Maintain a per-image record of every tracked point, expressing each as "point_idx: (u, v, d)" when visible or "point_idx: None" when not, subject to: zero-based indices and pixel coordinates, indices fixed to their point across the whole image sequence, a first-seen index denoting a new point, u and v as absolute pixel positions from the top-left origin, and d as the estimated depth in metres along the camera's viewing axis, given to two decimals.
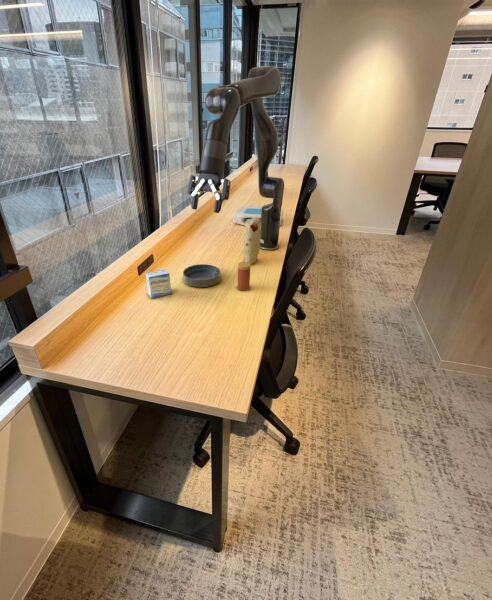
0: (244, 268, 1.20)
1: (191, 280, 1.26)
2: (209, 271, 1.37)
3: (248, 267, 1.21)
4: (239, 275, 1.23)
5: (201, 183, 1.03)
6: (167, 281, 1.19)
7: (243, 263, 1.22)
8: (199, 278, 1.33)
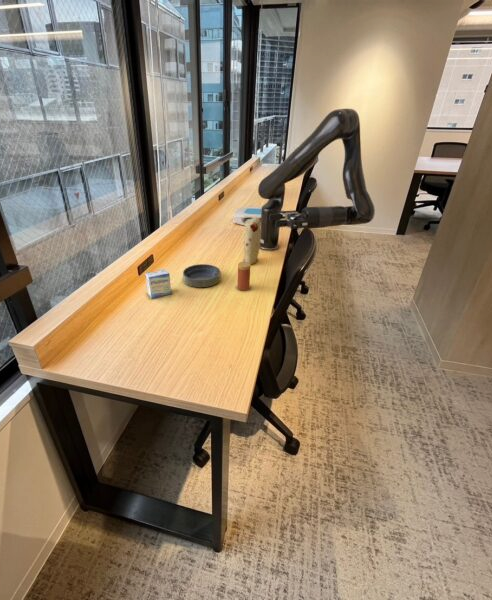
0: (244, 268, 1.20)
1: (191, 280, 1.26)
2: (209, 271, 1.37)
3: (248, 267, 1.21)
4: (239, 275, 1.23)
5: None
6: (167, 281, 1.19)
7: (243, 263, 1.22)
8: (199, 278, 1.33)
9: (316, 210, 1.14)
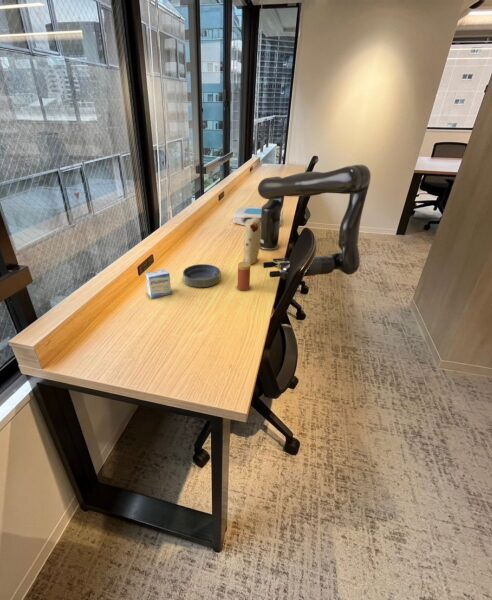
0: (244, 268, 1.20)
1: (191, 280, 1.26)
2: (209, 271, 1.37)
3: (248, 267, 1.21)
4: (239, 275, 1.23)
5: None
6: (167, 281, 1.19)
7: (243, 263, 1.22)
8: (199, 278, 1.33)
9: None
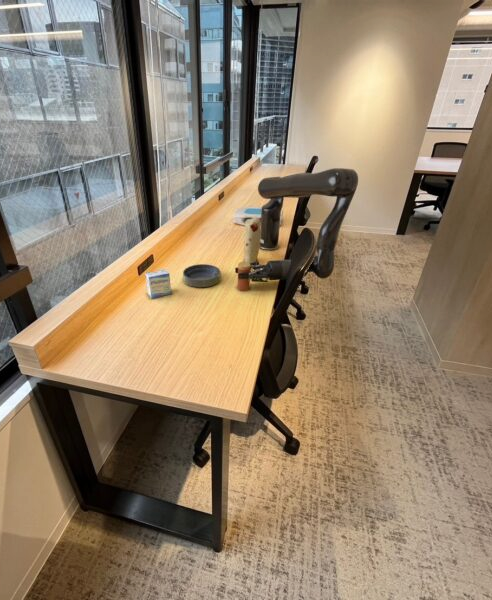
0: (244, 268, 1.20)
1: (191, 280, 1.26)
2: (209, 271, 1.37)
3: (248, 267, 1.21)
4: None
5: None
6: (167, 281, 1.19)
7: (243, 263, 1.22)
8: (199, 278, 1.33)
9: (279, 265, 1.22)
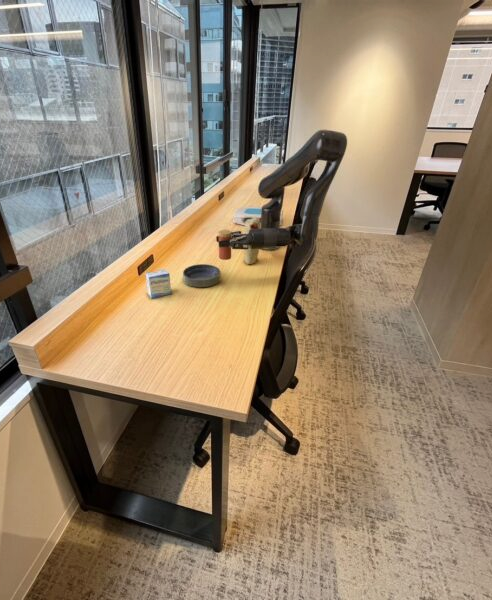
0: (224, 235, 1.17)
1: (191, 280, 1.26)
2: (209, 271, 1.37)
3: (229, 234, 1.18)
4: None
5: None
6: (167, 281, 1.19)
7: (224, 231, 1.19)
8: (199, 278, 1.33)
9: (261, 232, 1.19)
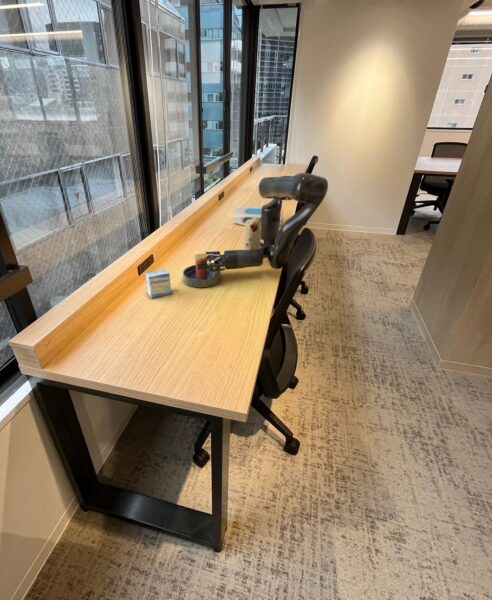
0: (200, 259, 1.26)
1: (191, 280, 1.26)
2: (209, 271, 1.37)
3: (204, 258, 1.26)
4: (196, 266, 1.28)
5: None
6: (167, 281, 1.19)
7: (200, 254, 1.28)
8: None
9: (234, 254, 1.28)
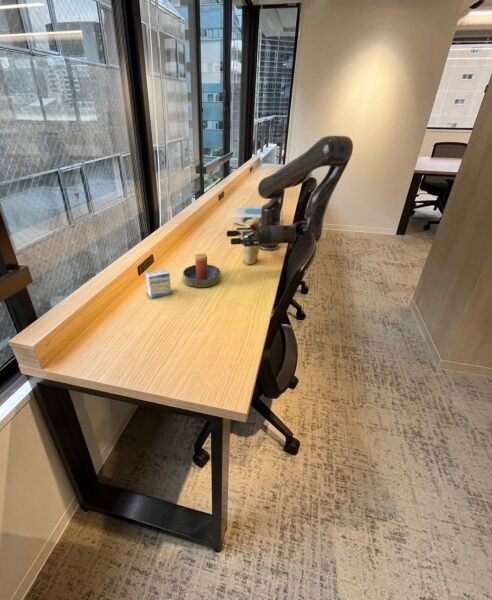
0: (200, 259, 1.26)
1: (191, 280, 1.26)
2: (209, 271, 1.37)
3: (204, 258, 1.26)
4: (196, 266, 1.28)
5: (250, 242, 1.27)
6: (167, 281, 1.19)
7: (200, 254, 1.28)
8: None
9: (268, 229, 1.25)
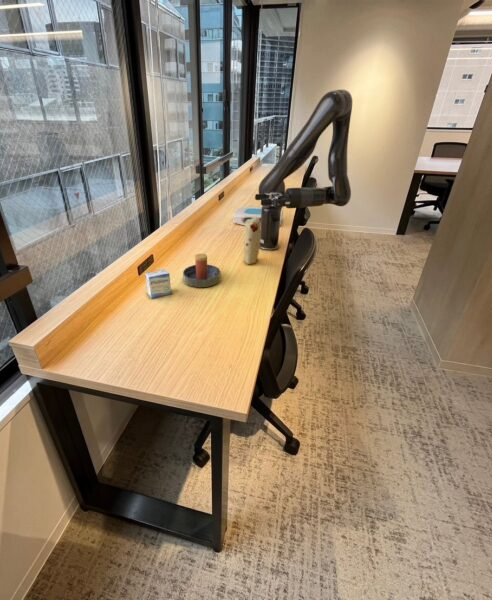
0: (200, 259, 1.26)
1: (191, 280, 1.26)
2: (209, 271, 1.37)
3: (204, 258, 1.26)
4: (196, 266, 1.28)
5: (279, 204, 1.25)
6: (167, 281, 1.19)
7: (200, 254, 1.28)
8: None
9: (298, 191, 1.24)
